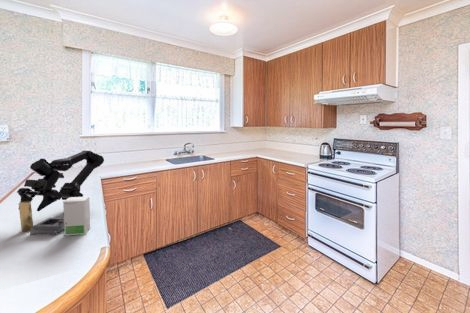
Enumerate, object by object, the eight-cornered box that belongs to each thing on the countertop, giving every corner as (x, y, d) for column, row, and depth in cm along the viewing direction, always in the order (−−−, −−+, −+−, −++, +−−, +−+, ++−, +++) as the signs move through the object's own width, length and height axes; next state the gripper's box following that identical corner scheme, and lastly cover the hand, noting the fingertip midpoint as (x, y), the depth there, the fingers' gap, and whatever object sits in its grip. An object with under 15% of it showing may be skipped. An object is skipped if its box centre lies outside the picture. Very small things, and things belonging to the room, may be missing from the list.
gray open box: (30, 234, 97) (29, 224, 96) (47, 225, 105) (46, 216, 105) (58, 235, 97) (57, 225, 96) (72, 225, 106) (71, 216, 105)
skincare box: (64, 236, 96) (61, 201, 94) (71, 229, 102) (68, 196, 100) (86, 234, 98) (83, 200, 96) (91, 227, 104) (89, 195, 102)
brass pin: (22, 229, 101) (19, 202, 100) (34, 227, 104) (31, 200, 102) (20, 232, 98) (17, 204, 96) (32, 230, 100) (29, 203, 99)
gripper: (18, 171, 105) (-6, 201, 96) (54, 173, 103) (33, 203, 94) (36, 183, 114) (15, 212, 104) (70, 185, 112) (51, 214, 102)
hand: (28, 210), depth 101 cm, fingers open, 9 cm apart
